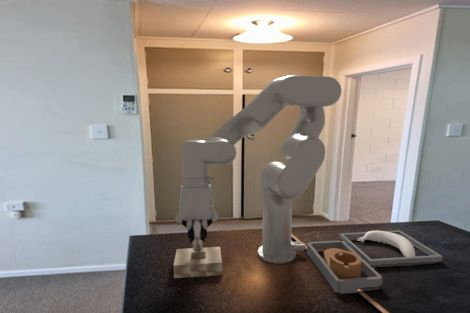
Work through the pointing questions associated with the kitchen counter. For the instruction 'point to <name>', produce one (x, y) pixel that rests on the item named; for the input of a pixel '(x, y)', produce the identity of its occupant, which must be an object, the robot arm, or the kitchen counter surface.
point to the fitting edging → (335, 283)
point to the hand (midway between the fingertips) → (197, 239)
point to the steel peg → (197, 235)
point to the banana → (390, 241)
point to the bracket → (343, 263)
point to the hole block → (197, 262)
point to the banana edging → (431, 258)
